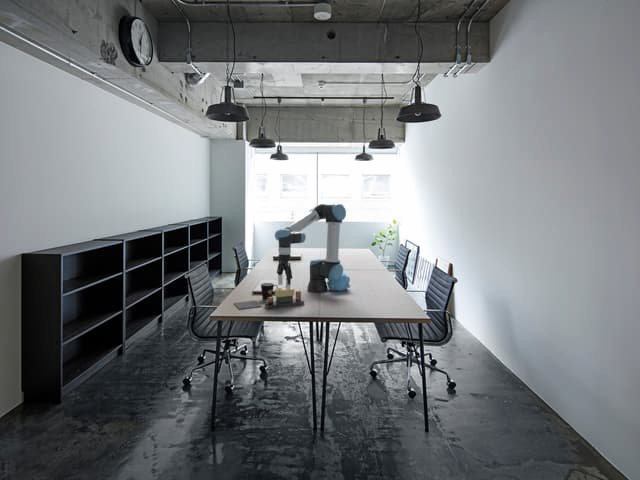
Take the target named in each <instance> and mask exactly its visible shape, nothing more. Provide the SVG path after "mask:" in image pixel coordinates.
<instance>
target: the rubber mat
mask: <svg viewBox="0 0 640 480" xmlns="http://www.w3.org/2000/svg"><path fill="white" fill-rule="evenodd" d="M233 305H235V307H236V308H237V309H238V310H239V311H240V310H241V311H242V310H246V309H255V308H262V305H261V304H260V303H259V302H257V301H256V300H246V301H240V302H239V301H238V302H233Z"/></svg>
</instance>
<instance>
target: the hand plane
mask: <svg viewBox="0 0 640 480" xmlns="http://www.w3.org/2000/svg"><path fill="white" fill-rule="evenodd" d="M275 296H276V295H275ZM275 298H276V299H275V301H274V297H273V296H272V297H268V300H267V302H265V303H264V307H265V308H266V310H277V309H283V308H289V307H290V308H291V307H301V306H304V305H305V300H303V299H302V291H301V290H296V291H295V298H294V295H292V296H284V297H277V296H276V297H275Z"/></svg>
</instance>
